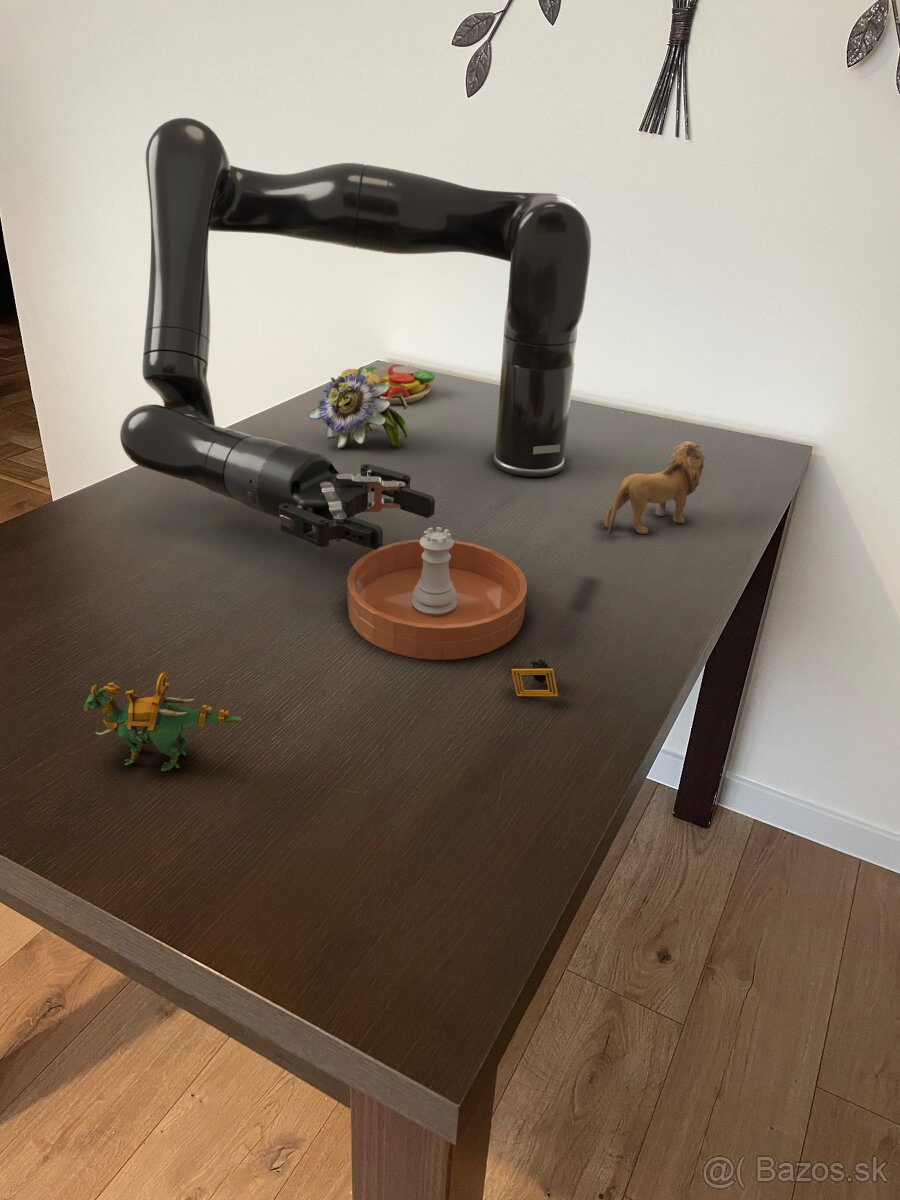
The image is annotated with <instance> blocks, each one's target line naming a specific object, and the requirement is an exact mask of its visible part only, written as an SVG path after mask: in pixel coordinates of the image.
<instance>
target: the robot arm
mask: <svg viewBox="0 0 900 1200" xmlns="http://www.w3.org/2000/svg"><path fill="white" fill-rule="evenodd" d="M229 159H230V158H229V156H228V153H227V151H226V148H225V147H224V144H223V143H222V140H221V139H220V138H219V137H218V135H217V134H216V132H215V131H214V130H213V129H211V127H210V126H208V125H207V124H205V123H204V122H202V121H200V120H197V119H195V118H191V117H177V118H172V119H169V120H167V121H165V122H163V123H161V125H159V126H158V127H157V128H156V129H155V130H154V131H153V132H152V135H151V136H150V138H149V139H148V143H147V146H146V149H145V169H146V177H147V178H146V179H147V187H148V197H149V198H148V199H149V210H150V212H149V214H150V264H149V265H150V266H149V283H148V284H149V285H148V294H147V296H148V297H147V308H146V309H147V310H146V319H145V329H144V330H145V331H144V340H143V342H144V343H143V352H142V353H143V355H142V367H141V369H142V371H141V373H142V378H143V380H144V382H145V383H146V384H147V386H148V387H150V388H151V390H153V391H154V392H155V393H157V394H158V396H159V397H160V398H161V400H162V402H163V405H161V404H155V403H152V404H145V405H141V406H138V407H136V408H134V409H133V410H132V411H130V413H128V414H127V415H126V417H125V418H124V420H123V421H122V424H121V426H120V431H119V440H120V444H121V447H122V449H123V451H124V453H125V455H126V456H127V457H128V459H130V460H131V461H132V462H133V463H134V464H135V465H137V466H139V467H141V468H145V469H147V470H150V471H154V472H157V473H160V474H163V475H166V476H170V477H173V478H176V479H178V480H185V481H189V482H192V483H194V484H197V485H199V486H201V487H203V488H205V489H207V490H209V491H211V492H213V493H216V494H218V495H221V496H223V497H227V498H229V499H231V500H235V501H238V502H239V503H241V504H243V505H245V506H247V507H248V508H250V509H253V510H255V511H258V512H261V513H264V514H267V515H270V516H273V517H275V518H278V519H279V529H280V530H279V531H281V532H283V533H285V534H289V535H291V536H293V537H295V538H298V539H301V540H302V541H305V542H308V543H310V544H312V545H315V546H317V547H319V548H326V547H328V546H330V541H333V540H334V541H335V542H338V543H344V542H346V541H347V542H350V543H353V544H356V545H359V546H361V547H365V548H368V549H372V550H376V549H378V548H380V547H383V546H384V545H383V544H384V530H383V528H382V527H381V526H380V525H378V524H375V523H372V522H369V521H367V520H364V519H360V518H357V517H355V516H357V515H358V514H361V513H380V512H382V510H383V509H399V510H402V511H405V512H407V513H411V514H414V515H417V516H420V517H423V518H426V519H429V518H431V517H433V516H434V515H435V506H436V500H435V497H434V496H433V495H431V494H428V493H425V492H421V491H418V490H414V489H412V488H411V479H412V478H411V477H412V476H411V475H409V474H407V473H403V472H399V471H397V470H392V469H389V468H384V467H381V466H377V465H374V464H370V463H362V464H360V465H359V466H360V467H359V468H360V469H359V470H360V472H359V473H357V474H352V473H342V472H339V471H338V470H337V469H336V468H335V465H333V464H332V461H331V460H330V459H329V458H328V457H326V456H325V455H323V454H320V453H317V452H315V451H311V450H308V449H305V448H301V447H298V446H295V445H292V444H288V443H286V442H282V441H279V440H277V439H276V440H275V439H272V438H265V437H258V436H254V435H252V434H248V433H246V432H242V431H239V430H236V429H231V428H227V427H221V426H217V425H216V422H215V416H214V411H213V403H212V398H211V393H210V388H209V383H208V379H207V378H208V369H209V356H210V343H211V302H210V301H211V299H210V298H211V296H210V281H209V279H210V278H209V235H210V232H224V233H247V234H262V235H263V234H264V235H274V236H281V237H287V238H293V239H299V240H305V241H311V242H317V243H324V244H325V243H326V244H329V245H330V244H331V245H336V246H343V247H347V248H351V249H358V250H363V251H370V252H375V253H376V252H377V253H382V254H383V253H384V254H392V255H393V254H394V255H428V254H443V253H445V254H447V253H466V254H473V255H478V256H479V255H481V256H484V257H489V258H493V259H497V260H502V261H506V262H509V263H510V265H509V278H508V289H507V290H508V291H507V302H506V308H505V313H504V320H503V323H504V325H503V340H502V350H501V351H502V353H501V367H500V380H499V381H500V382H499V395H498V409H497V419H496V420H497V421H496V422H497V423H496V431H495V432H496V434H495V447H494V452H493V464H494V466H495V467H496V468H498V469H499V470H500V471H503V472H505V473H507V474H510V475H515V476H519V477H529V478H543V477H548V476H553V475H556V474H558V473H560V472H561V471H563V469H564V466H565V453H566V444H567V437H568V436H567V435H568V429H569V428H568V427H569V418H570V409H571V403H572V402H571V400H572V392H573V391H572V390H573V383H574V382H573V381H574V373H575V364H576V355H577V345H578V336H579V328H580V323H581V321H582V318H583V314H584V311H585V310H584V309H585V302H586V295H587V287H588V282H589V281H588V279H589V271H590V264H591V255H592V232H591V227H590V224H589V222H588V220H587V219H586V217H585V215H584V214H583V213H582V211H581V210H580V208H579V207H578V206H577V205H576V204H575V203H574V202H573V201H572V200H571V199H569V198H567V197H565V196H564V195H561V194H557V193H554V192H553V193H552V192H523V191H522V192H518V191H501V190H488V189H479V188H473V187H469V186H465V185H461V184H458V183H453V182H450V181H447V180H443V179H441V178H440V179H439V178H437V177H436V178H435V177H432V176H428V175H423V174H419V173H414V172H409V171H404V170H400V169H395V168H389V167H384V166H378V165H371V164H365V163H357V162H340V163H334V164H329V165H328V164H327V165H324V166H320V167H315V168H311V169H308V170H303V171H299V172H293V173H284V174H283V173H278V174H277V173H268V172H261V171H257V170H251V169H246V168H241V167H238V166H234V165H231V163H230V160H229ZM371 493H373V495H374V497H373V501H371V502H369V494H371ZM382 495H383V496H386V497H389V498H384V497H382ZM313 527H315V531H314V530H313Z"/></svg>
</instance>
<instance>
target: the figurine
mask: <svg viewBox="0 0 900 1200" xmlns="http://www.w3.org/2000/svg"><path fill="white" fill-rule="evenodd" d="M167 680H168V674H167V672H165V671H164V672H162V673H160V674H159V676H158V678H157V682H156V686H155V691H156V692H155V694H154V696H147V697H144V696H137V692H136V690H135V689H132V690H131V689H130V690H126V691H125V695H126V698H127V700H128V703H129V704H128V705H127V706H126V707H125V708H124V709H123V710H122V709H121V707H119V705H118V704H117V701H116V700H115V699H114V698H113V697H117V696H118V693H119V692H120V688H121V687H120V686H119V685H116V684H115V683H114V682H108V684H107V685H104V686H103V687H100V688H99V686H98V685H97V684H95V685H93V686H92V687H91V690H90V691H91V693H90V694H89V695H88V697H87V698H86V701H85V703H84V706H83V712H87V713H89V712H90V710H94V709H99V707H100V708H101V711H100V712H101V715H103V719H102V722H103V724H104V725H105V727H106V728H107V729H105V730H103V731H102V732H96V731H95V732H94V733H95V734H97V735H98V736H102V737H103V736H108V735H111V734H112V733H116V734H117V736H118V737H119V738H120V739H121V740H122V741H123V742H124V744H125V745H126V746H128V747H129V748H131V749H130V752H131V756H130V758H126V759H125V760H124V762H125V763H124V766H129V765H132V764H134V763H135V761H136V760H137V759H138V758H139V755H140V752H141V751H143V747H145V746H147V745H150V744H153V745H154V746H155V748H156V750H158V752H160V754H163V755H165V756H167V757H169V760H170V761H164V762H163V763H164V764H162V765H161V766H160V767H161V769H160V771H161V772H167V771H170V770H172V768H174V767H175V769H179V768H180V765H179V764H178V763H177V762H178V761H179V756H180V755H182V756H184V757H186V756H187V754H186V752H185V750H184V748H185V745H186V743H187V742H188V739H187V738H186V737H185V736H184V735H183V733H182V731H184V730H185V729H186V728H189V727H194V726H198V727H205V726H207V725H214V724H215V725H216V724H219V725H225V724H227V723H236V722H240V721H242V718H241V717H238V716H236V715H235V716H234V715H229V714H230V713H229V711H228V710H224V709H220V710H219V712H218V714H216V713H212V712H211V711H212V708H213V707H212V706H208V705H207V704H203V705H202V706H201V710H199V709H198V710H197V709H191V708H188V707H184V706H181V705H179V704H187V703H191V702H193V701H194V700H195V698H191V699H184V698H179V697H170V696H169V697H168V696H167V695H166V692H167V691H168V690H169V688H170V683H168V682H167ZM105 692H107V693H110V696H109V695H107V694H105ZM176 741H177V742H178V744H177V748H175V747H174V746H173V745H174V743H175V742H176Z"/></svg>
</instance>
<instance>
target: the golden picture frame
mask: <svg viewBox="0 0 900 1200" xmlns="http://www.w3.org/2000/svg"><path fill="white" fill-rule="evenodd" d="M529 665H531V666H529V667H528V668H511V674H512V680H513V684H514V690H515V694H516V697H558V696H559V694H558V688H557V683H556V677H555V673H554V668H551V667H550V666H549V665H551V662H548V663H546V659H545V660H544V658H543V659H542V658H538V660H537V661H536V660H533V659H532V660H531V661H530V663H529ZM518 674H519V675H518ZM522 676H528V677H532V679H533V680H534V681H535V682H537V683H538V684H541V685H544V684H546V685H547V689H541V690H540V689H539V690H538V689H529V690H528V689H524V685H523V684H524V683H523V679H522ZM552 681H553V682H552Z"/></svg>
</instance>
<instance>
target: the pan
mask: <svg viewBox="0 0 900 1200" xmlns="http://www.w3.org/2000/svg"><path fill="white" fill-rule="evenodd" d="M420 539H421V538H419V539H408V540H402V541H397V542H392V543H389V544H386V545H382V546H381V547H380V548H378V549H376V550H374V549H372V550H371V551H369V552H368V553H365V554H364V555H363V556H361V557H360V558H359V559H357V560H356V562H355V563H354V564H353V565H352V567H351V568H350V569H349V572H348V576H347V579H346V588H347V589H346V591H347V593H346V594H347V596H346V597H347V610H348V611H347V612H348V618H349V621H350V623H351V625H352V626H353V628H354V629H355V631H356V632H357V633H358V634H359V635H360V636H361V637H362V638H363V639H364V640H366V641H368V642H369V643H371V644H372V645H374V646H376V647H379V648H380V649H382V650H384V651H387V652H390V653H392V654H395V655H400V656H403V657H408V658H413V659H420V660H428V661H451V660H454V661H455V660H462V659H467V658H473V657H478V656H480V655H484V654H488V653H490V652H492V651H495V650H497V649H499V648H500V647H503V646H505V645H507V643H509V642H510V641H511V640H512V639H513V638H515V636H517V634H518V633H519V631H520V629H521V628H522V625H523V622H524V619H525V612H526V602H527V591H528V590H527V579H526V577H525V575H524V574H523V572H522V570H521V568H520V567H519V566H517V564H515V563H514V561H512V560H511V559H509V558H508V557H507V556H505V555H503V554H502V553H500V552H498V551H495V550H494V549H491V548H489V547H485V546H482V545H479V544H476V543H471V542H466V541H461V540H456V539H453V541H454V545H453V546H452V547H451V549H450V550H449V554H450V555H451V558H450V560H449V565H448V566H449V576H450V580H451V581H452V583H453V586H454V588H455V590H456V593H457V595H456V600H457V604H456V607H455V608H454V609H453V610H452V611H451V612H449V613H448V614H445V615H441V616H430V615H425V614H423V613H420V612H419V611H418V610H416V608H415V607H414V606H413V604H412V599H413V597H414V596H413V591H414V588H415V586H416V585H417V583H418V580H420V579H421V575H422V569H423V558H422V553H423V552H424V548H423V547H422V546H421V544H420Z"/></svg>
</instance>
